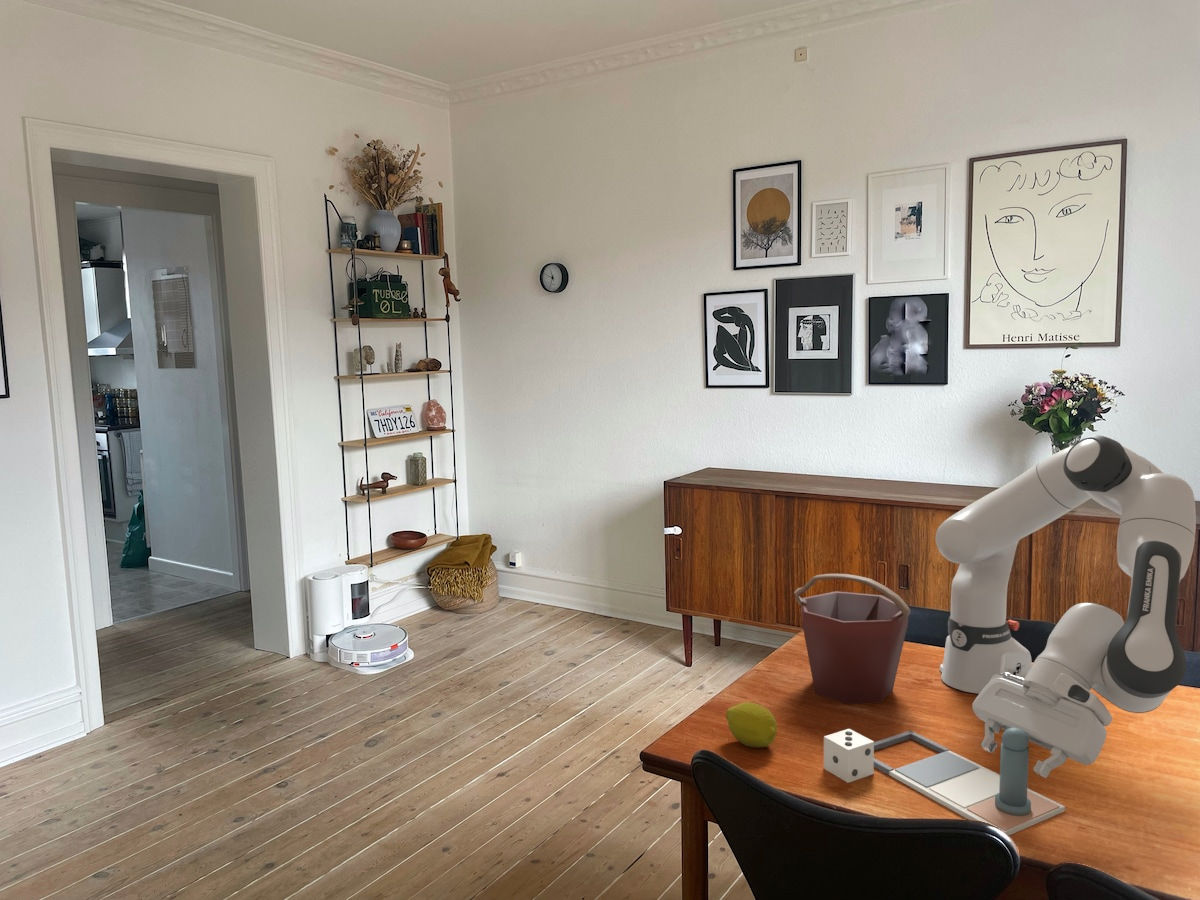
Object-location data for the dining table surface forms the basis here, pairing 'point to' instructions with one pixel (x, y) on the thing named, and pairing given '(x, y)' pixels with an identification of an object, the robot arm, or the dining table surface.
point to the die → (848, 755)
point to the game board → (963, 786)
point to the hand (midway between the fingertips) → (1012, 761)
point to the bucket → (853, 640)
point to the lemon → (752, 724)
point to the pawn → (1013, 774)
